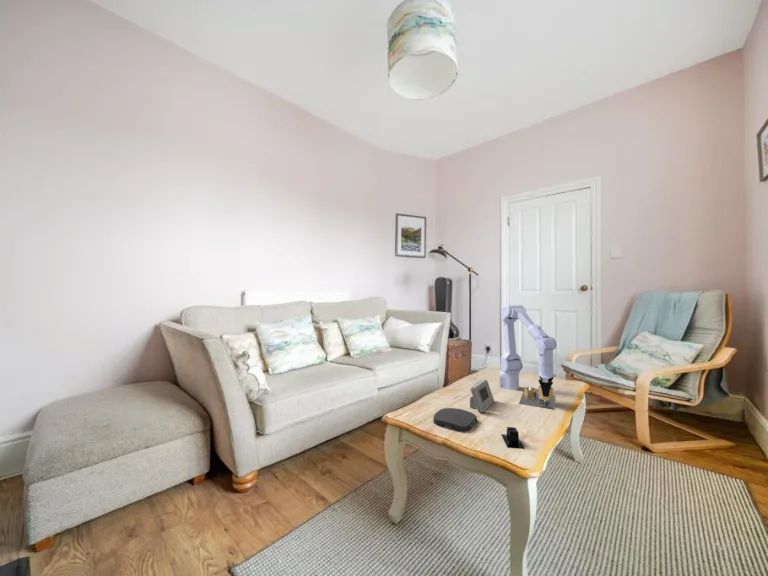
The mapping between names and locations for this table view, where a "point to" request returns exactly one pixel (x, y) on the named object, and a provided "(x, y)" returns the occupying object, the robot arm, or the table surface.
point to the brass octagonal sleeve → (544, 396)
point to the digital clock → (481, 396)
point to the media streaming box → (455, 419)
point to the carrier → (535, 399)
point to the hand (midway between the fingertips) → (546, 394)
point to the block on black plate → (512, 438)
